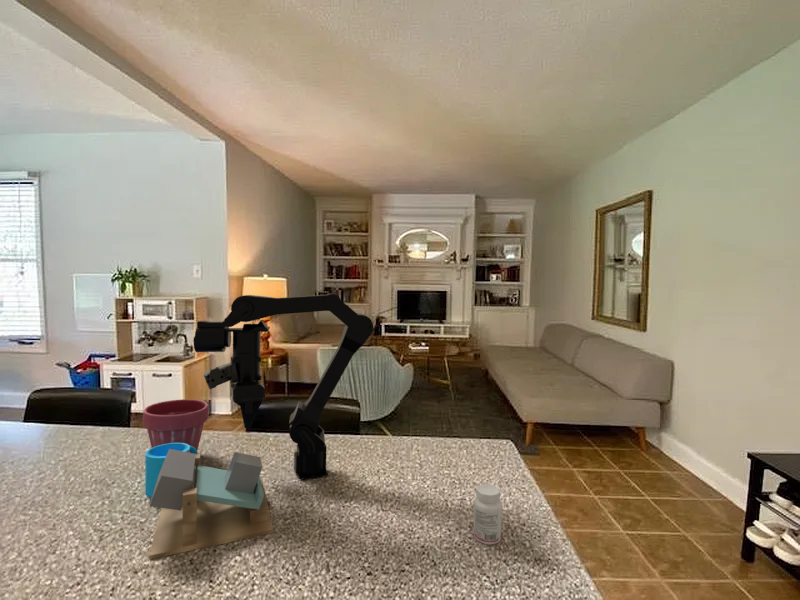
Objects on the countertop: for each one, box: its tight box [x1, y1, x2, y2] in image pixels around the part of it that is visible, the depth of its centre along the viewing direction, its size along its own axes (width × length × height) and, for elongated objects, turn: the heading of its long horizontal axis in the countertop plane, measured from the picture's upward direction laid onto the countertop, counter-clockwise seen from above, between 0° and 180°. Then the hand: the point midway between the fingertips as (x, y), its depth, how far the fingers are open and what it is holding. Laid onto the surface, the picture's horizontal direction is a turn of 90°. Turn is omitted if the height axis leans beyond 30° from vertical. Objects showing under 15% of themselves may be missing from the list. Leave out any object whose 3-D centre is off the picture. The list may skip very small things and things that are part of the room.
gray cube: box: [225, 451, 263, 494], centre depth 78 cm, size 5×5×5 cm
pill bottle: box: [473, 483, 503, 546], centre depth 72 cm, size 5×5×8 cm
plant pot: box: [142, 398, 209, 453], centre depth 102 cm, size 14×14×13 cm
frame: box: [149, 453, 274, 560], centre depth 77 cm, size 18×18×9 cm
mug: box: [144, 443, 199, 499], centre depth 89 cm, size 12×8×8 cm
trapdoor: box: [149, 449, 264, 510], centre depth 76 cm, size 17×12×5 cm
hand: (246, 421), depth 92 cm, fingers open, 9 cm apart
